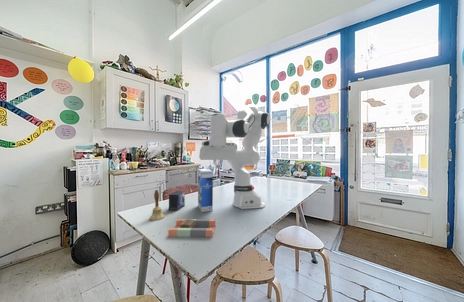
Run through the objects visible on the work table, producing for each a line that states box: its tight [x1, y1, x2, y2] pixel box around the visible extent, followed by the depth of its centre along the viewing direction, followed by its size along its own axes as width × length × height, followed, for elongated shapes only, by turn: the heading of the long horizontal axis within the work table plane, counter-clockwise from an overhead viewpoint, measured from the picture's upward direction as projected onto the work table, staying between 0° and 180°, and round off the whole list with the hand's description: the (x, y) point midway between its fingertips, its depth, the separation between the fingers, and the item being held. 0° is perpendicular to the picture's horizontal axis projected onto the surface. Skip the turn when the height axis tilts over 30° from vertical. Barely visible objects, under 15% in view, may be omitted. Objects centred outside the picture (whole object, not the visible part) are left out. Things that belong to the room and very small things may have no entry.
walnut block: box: [180, 218, 196, 228], centre depth 85 cm, size 5×6×4 cm
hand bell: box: [148, 189, 166, 222], centre depth 100 cm, size 8×8×16 cm
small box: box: [168, 190, 186, 212], centre depth 115 cm, size 11×6×10 cm, turn 168°
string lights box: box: [197, 168, 214, 213], centre depth 115 cm, size 13×8×26 cm, turn 21°
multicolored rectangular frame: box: [167, 218, 217, 238], centre depth 84 cm, size 20×12×3 cm, turn 88°
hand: (218, 168), depth 94 cm, fingers closed
